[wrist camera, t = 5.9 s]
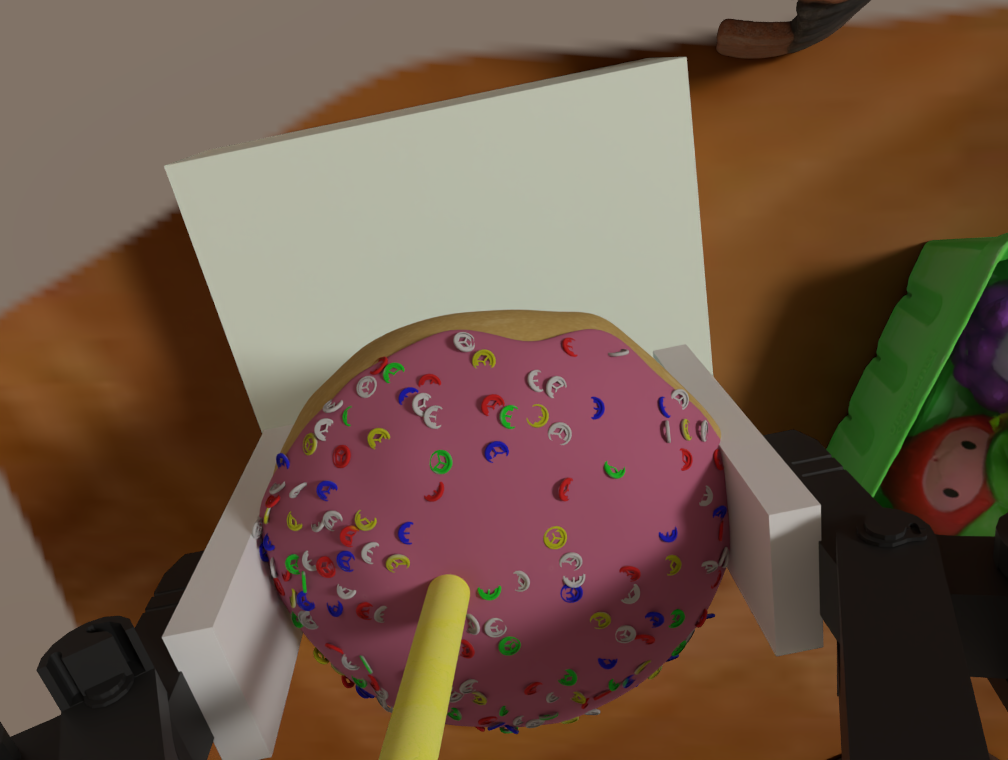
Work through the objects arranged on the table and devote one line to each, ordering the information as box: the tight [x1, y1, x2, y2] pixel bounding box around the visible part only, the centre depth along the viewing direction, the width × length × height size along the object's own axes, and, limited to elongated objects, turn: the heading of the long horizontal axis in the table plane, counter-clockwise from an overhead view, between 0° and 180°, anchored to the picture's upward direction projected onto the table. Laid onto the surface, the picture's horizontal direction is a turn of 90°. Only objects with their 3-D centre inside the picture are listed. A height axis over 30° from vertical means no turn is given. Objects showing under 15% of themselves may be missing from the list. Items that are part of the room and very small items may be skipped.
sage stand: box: [164, 57, 713, 434], centre depth 24 cm, size 14×14×4 cm
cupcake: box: [252, 310, 730, 760], centre depth 12 cm, size 9×8×12 cm
